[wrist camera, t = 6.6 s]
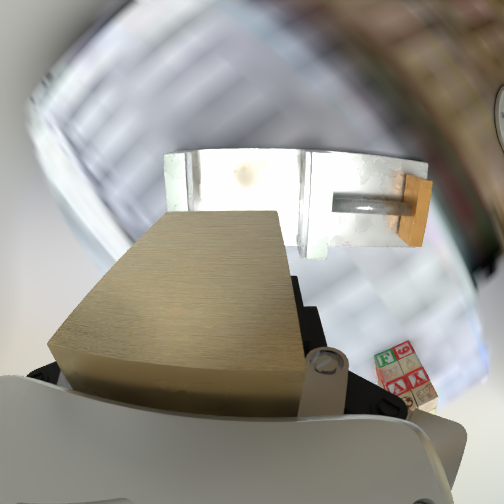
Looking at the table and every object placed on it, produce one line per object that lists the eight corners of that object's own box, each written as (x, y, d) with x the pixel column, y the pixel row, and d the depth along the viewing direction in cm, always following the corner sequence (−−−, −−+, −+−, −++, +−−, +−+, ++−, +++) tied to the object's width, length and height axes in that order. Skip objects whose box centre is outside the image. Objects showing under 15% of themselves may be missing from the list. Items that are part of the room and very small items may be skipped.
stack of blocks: (411, 403, 45) (428, 448, 34) (384, 414, 46) (398, 462, 35) (408, 338, 37) (439, 397, 26) (372, 354, 38) (396, 417, 27)
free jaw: (419, 162, 25) (434, 166, 22) (406, 248, 29) (418, 259, 26) (301, 149, 25) (306, 152, 23) (297, 247, 29) (301, 259, 27)
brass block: (277, 210, 12) (306, 369, 4) (273, 334, 15) (278, 490, 7) (167, 211, 13) (46, 343, 4) (185, 331, 15) (141, 475, 7)
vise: (421, 161, 27) (442, 167, 22) (409, 242, 31) (427, 258, 27) (177, 150, 27) (163, 154, 23) (183, 239, 31) (172, 256, 27)
